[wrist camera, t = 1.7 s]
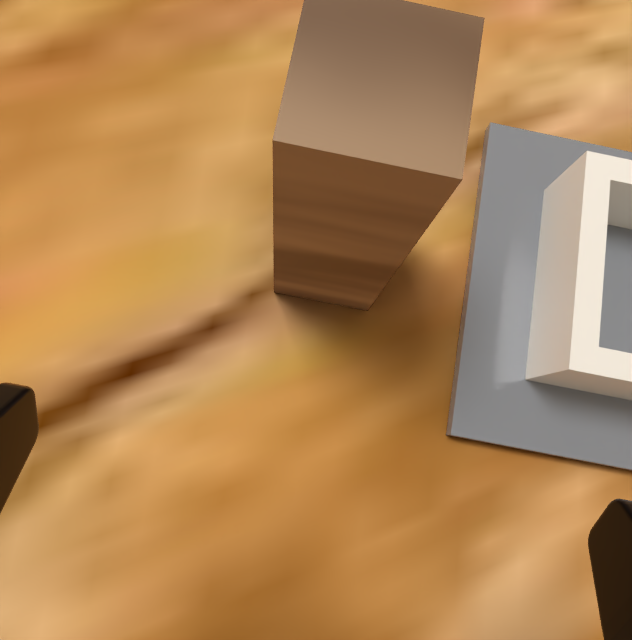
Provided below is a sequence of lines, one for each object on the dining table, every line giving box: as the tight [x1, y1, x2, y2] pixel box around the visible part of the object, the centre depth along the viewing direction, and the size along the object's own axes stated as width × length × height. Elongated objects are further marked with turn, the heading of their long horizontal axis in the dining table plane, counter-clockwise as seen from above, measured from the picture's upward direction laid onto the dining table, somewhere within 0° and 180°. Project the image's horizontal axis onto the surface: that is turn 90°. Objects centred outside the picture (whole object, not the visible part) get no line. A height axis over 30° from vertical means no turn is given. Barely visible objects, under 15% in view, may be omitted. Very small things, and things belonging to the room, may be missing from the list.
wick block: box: [273, 0, 484, 311], centre depth 18 cm, size 4×4×12 cm
